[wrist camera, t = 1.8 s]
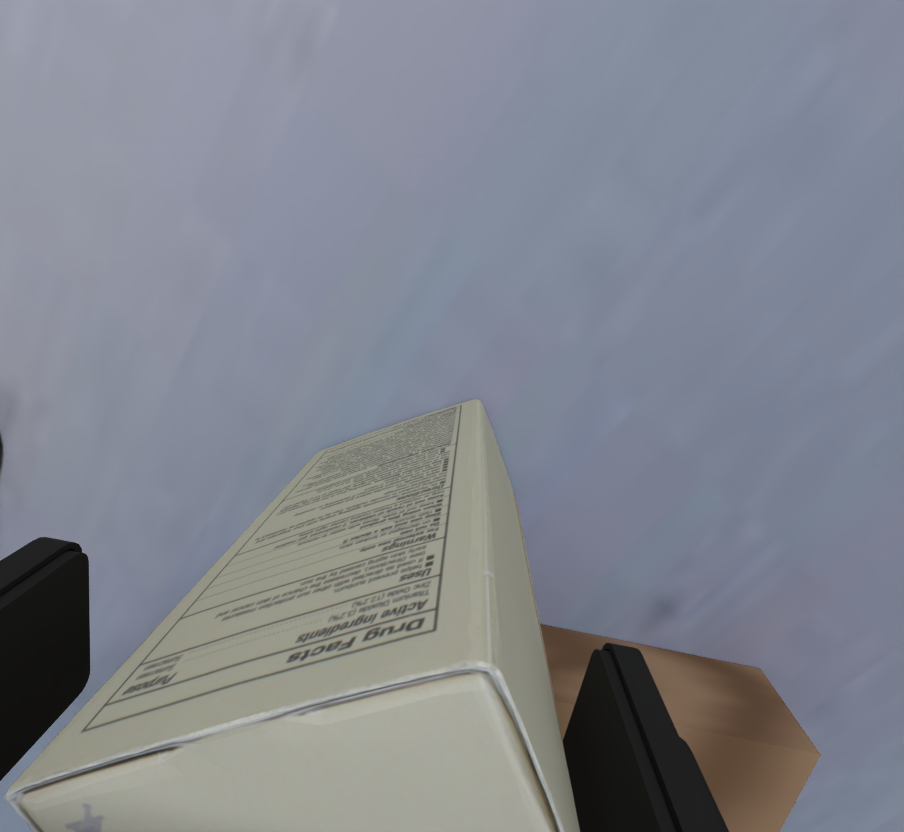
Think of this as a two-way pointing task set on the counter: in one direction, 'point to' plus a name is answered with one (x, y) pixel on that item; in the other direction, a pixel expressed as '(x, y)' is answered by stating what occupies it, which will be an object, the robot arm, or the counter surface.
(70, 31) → the counter surface
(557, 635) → the docking block
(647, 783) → the robot arm
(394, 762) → the skincare box
